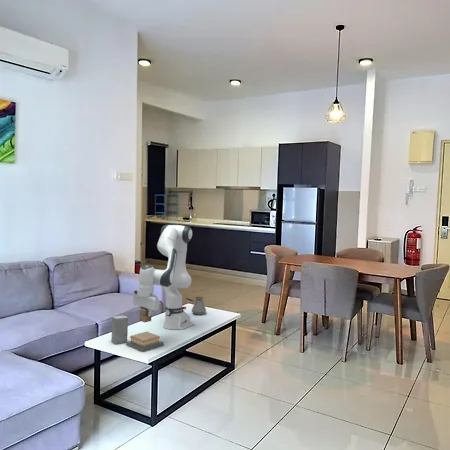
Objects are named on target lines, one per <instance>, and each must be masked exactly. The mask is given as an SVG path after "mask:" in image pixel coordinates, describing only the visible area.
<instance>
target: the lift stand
mask: <svg viewBox="0 0 450 450" xmlns="http://www.w3.org/2000/svg"><path fill="white" fill-rule="evenodd" d="M129 338H130V340H127V342H125V345H126V347H129V348H132V349H134V350H136V351H138V352H141V353H144V352H147V351H148V352H149V351H151V350H154V349H157V348H160V347H163V346H165V342H164V341H161V340H160V339H161V336H160V335H159V334H155V333H152V332H149V331H143V332H139V333H136V334H132V335H131V336H129Z"/></svg>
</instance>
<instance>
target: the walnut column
mask: <svg viewBox="0 0 450 450" xmlns="http://www.w3.org/2000/svg"><path fill="white" fill-rule="evenodd" d="M148 312H149V311H148V309H147V308H143V307H141V308H140V309H139V322H141V323H142V322H143V323H148V322H152V315H151V316H147V313H148Z"/></svg>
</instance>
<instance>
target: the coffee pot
mask: <svg viewBox="0 0 450 450" xmlns="http://www.w3.org/2000/svg"><path fill="white" fill-rule="evenodd" d="M194 299H195V300H193V299H191V298H188V297H185V298H184V299H183V300H184V301H186V302H187V301H189V302H194V304H193V306H192V308H191V313H193V315H195V316H201V315H202V314H203V315H204V314H205V313H206V312H207V309H206V307H205V304H204V302H203V301H204V300H203V299H204V297H203V296H195V297H194Z"/></svg>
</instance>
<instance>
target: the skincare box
mask: <svg viewBox="0 0 450 450" xmlns="http://www.w3.org/2000/svg"><path fill="white" fill-rule="evenodd" d="M128 327H129V316H126V315H115V316H114V315H113V316H112V317H111V338H110V339H111V342H112V343H114V345H119V344H124V343H125V344H126V342H128V334H129V333H128V330H129V329H128Z"/></svg>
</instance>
